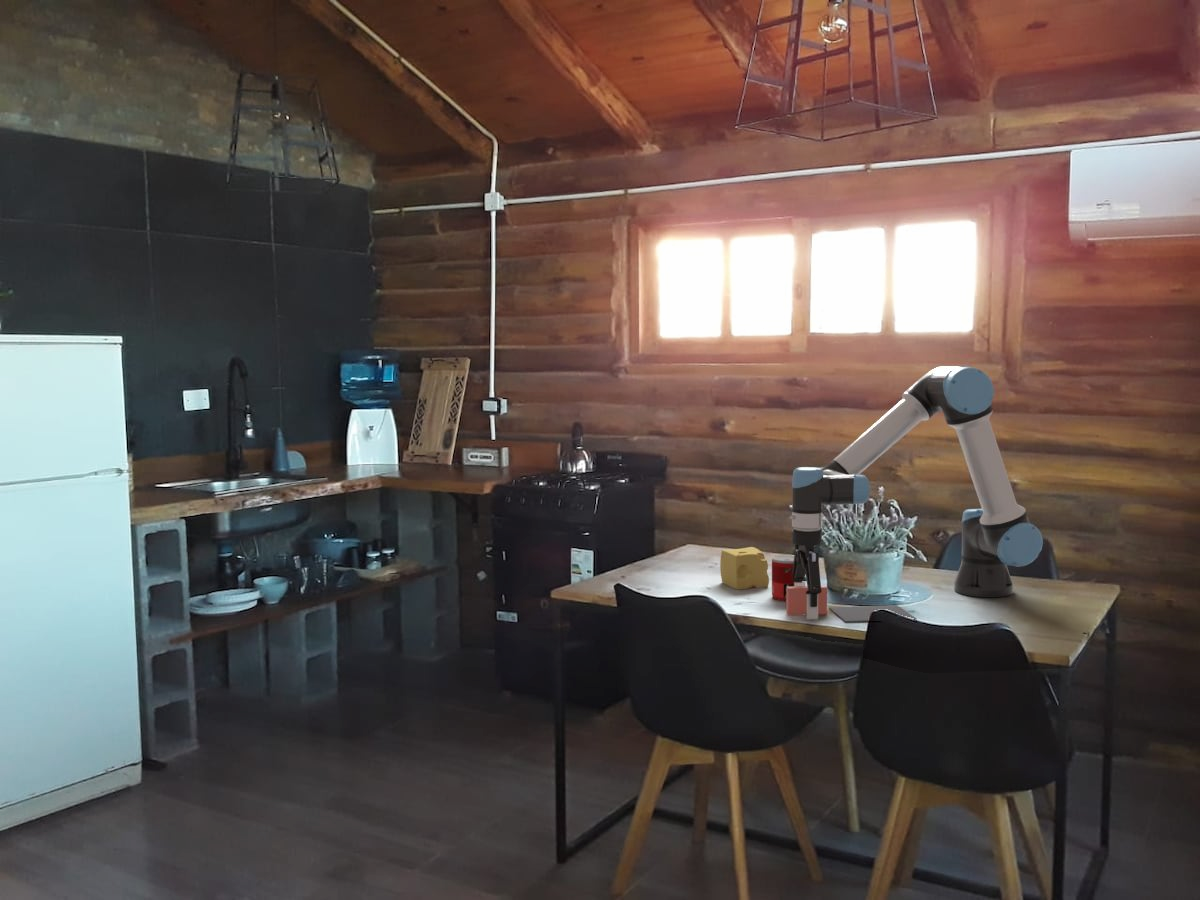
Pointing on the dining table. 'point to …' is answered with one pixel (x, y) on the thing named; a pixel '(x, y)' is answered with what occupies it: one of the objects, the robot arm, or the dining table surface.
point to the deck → (803, 600)
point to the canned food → (781, 576)
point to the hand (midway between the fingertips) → (805, 612)
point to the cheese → (744, 568)
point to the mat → (864, 612)
